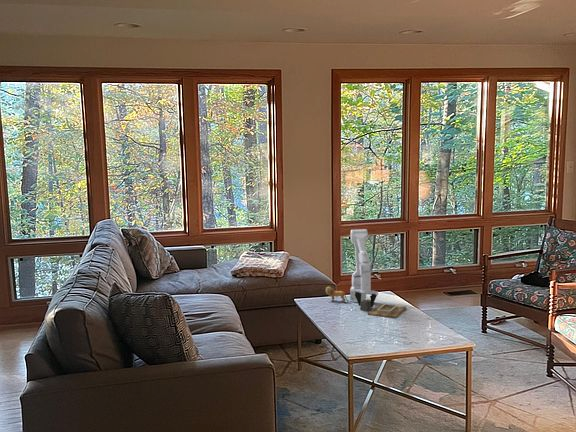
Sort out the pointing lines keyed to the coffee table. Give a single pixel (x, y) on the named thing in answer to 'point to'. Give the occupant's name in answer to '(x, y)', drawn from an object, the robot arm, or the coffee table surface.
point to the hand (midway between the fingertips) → (365, 306)
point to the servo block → (365, 305)
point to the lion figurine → (335, 293)
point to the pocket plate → (387, 310)
